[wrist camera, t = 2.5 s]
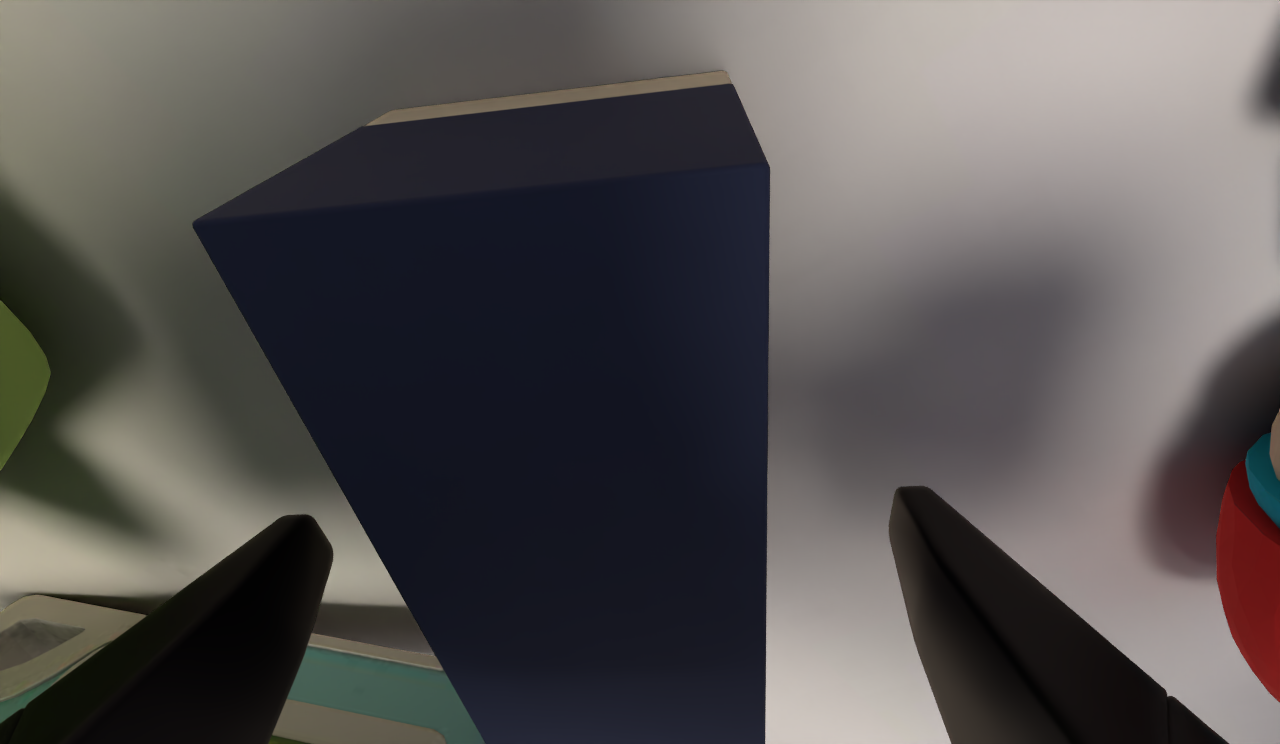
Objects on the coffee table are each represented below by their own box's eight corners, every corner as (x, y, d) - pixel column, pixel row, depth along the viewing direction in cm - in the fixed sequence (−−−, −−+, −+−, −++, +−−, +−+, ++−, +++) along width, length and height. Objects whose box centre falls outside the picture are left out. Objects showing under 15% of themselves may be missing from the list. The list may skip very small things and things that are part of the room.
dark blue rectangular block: (388, 110, 9) (186, 223, 5) (728, 68, 8) (770, 162, 5) (542, 572, 15) (500, 772, 11) (742, 565, 15) (765, 773, 11)
